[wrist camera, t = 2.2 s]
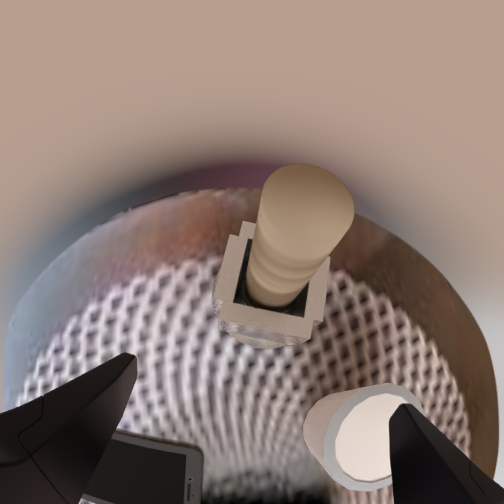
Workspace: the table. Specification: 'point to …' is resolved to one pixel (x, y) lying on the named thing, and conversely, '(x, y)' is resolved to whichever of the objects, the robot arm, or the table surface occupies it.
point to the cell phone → (146, 473)
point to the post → (294, 233)
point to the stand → (259, 320)
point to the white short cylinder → (356, 434)
